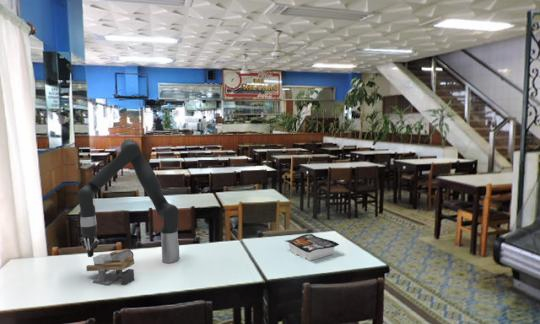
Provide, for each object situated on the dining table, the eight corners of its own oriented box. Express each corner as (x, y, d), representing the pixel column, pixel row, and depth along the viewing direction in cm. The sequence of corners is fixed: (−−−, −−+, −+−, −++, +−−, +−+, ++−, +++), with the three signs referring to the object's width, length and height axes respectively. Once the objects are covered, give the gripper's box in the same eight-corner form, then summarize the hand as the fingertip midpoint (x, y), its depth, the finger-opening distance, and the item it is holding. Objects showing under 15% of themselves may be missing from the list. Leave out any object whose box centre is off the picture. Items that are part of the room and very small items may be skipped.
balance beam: (99, 267, 204) (97, 257, 204) (135, 265, 194) (132, 255, 194) (87, 273, 197) (85, 262, 197) (123, 271, 187) (121, 260, 187)
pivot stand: (114, 272, 205) (113, 259, 204) (140, 277, 198) (139, 264, 197) (93, 282, 192) (92, 269, 191) (119, 288, 185) (118, 274, 184)
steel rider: (102, 263, 201) (100, 254, 201) (112, 263, 198) (110, 253, 198) (94, 267, 196) (92, 257, 196) (104, 266, 194) (102, 257, 193)
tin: (132, 260, 221) (131, 246, 220) (134, 262, 219) (133, 248, 218) (106, 268, 210) (105, 253, 209) (108, 269, 208) (107, 254, 207)
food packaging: (283, 239, 233) (311, 233, 245) (283, 251, 234) (311, 244, 246) (309, 251, 212) (339, 243, 225) (309, 264, 213) (339, 255, 226)
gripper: (103, 223, 199) (105, 255, 201) (85, 221, 204) (87, 252, 206) (92, 227, 192) (94, 260, 194) (73, 224, 197) (75, 257, 199)
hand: (90, 256), depth 200 cm, fingers closed
